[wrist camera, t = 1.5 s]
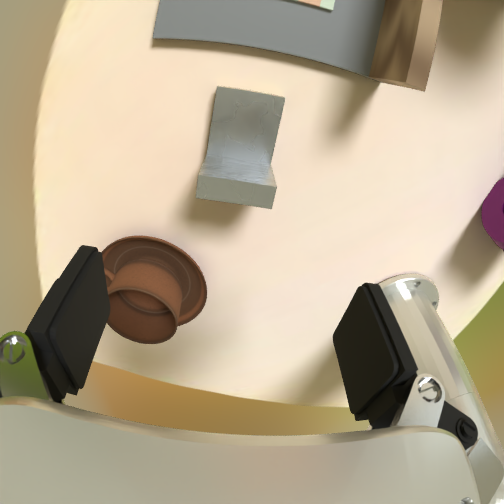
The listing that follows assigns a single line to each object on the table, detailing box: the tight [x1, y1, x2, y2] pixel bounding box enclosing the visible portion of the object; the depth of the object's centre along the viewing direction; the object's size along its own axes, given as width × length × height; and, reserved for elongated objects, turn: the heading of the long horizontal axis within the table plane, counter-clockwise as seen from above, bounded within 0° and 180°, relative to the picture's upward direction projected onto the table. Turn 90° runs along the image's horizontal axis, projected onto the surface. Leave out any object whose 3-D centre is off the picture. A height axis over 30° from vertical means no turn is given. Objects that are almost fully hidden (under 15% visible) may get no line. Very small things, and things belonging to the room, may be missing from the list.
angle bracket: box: [196, 86, 285, 209], centre depth 20 cm, size 7×5×6 cm
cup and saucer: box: [102, 236, 207, 344], centre depth 28 cm, size 12×12×6 cm
